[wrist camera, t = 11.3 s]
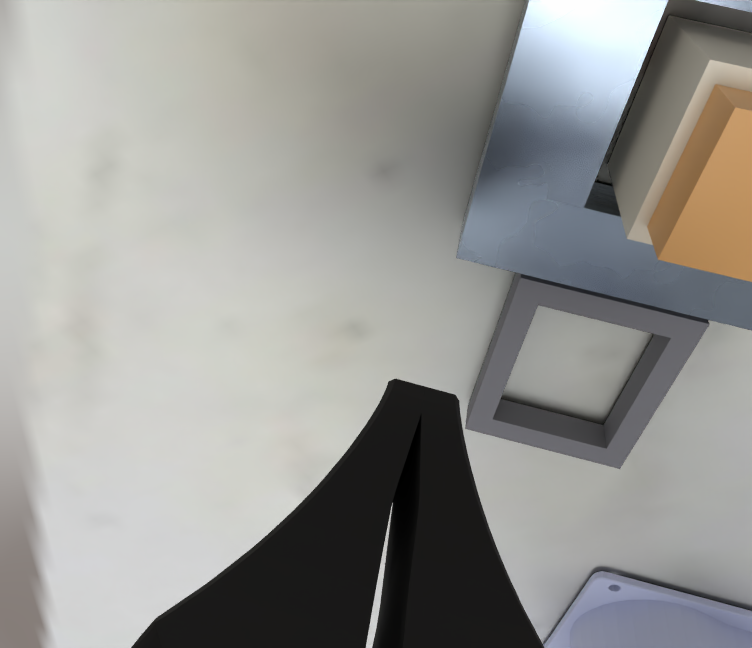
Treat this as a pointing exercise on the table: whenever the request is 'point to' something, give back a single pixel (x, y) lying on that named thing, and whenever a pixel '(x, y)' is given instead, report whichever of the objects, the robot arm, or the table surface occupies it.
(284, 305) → the table surface
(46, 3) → the table surface
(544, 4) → the port block
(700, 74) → the plug
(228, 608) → the robot arm
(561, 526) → the table surface
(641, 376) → the grey mounting plate
